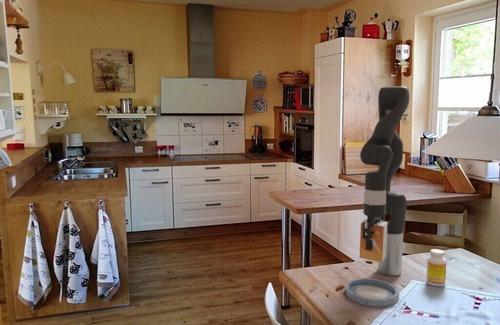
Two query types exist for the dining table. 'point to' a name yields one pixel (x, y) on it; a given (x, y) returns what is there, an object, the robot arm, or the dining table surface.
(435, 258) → the supplement bottle
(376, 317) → the dining table surface
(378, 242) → the small box
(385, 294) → the grey shallow round dish
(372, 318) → the dining table surface
